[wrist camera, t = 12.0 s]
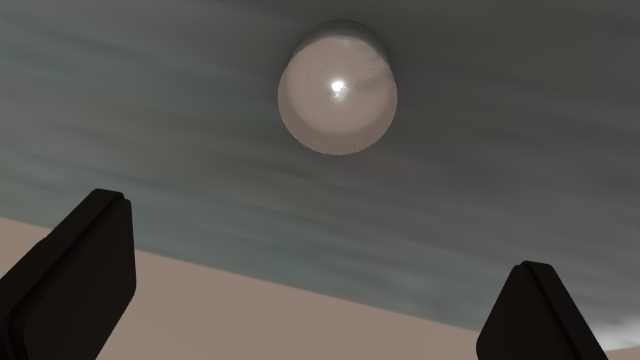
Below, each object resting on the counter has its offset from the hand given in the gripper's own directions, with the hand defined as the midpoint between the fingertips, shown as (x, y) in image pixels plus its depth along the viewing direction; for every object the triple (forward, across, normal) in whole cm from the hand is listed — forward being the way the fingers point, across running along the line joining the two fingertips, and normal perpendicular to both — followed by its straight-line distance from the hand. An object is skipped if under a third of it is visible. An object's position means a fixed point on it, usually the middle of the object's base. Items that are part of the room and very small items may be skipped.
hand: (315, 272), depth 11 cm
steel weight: (+18, 0, 0) cm, 18 cm away
